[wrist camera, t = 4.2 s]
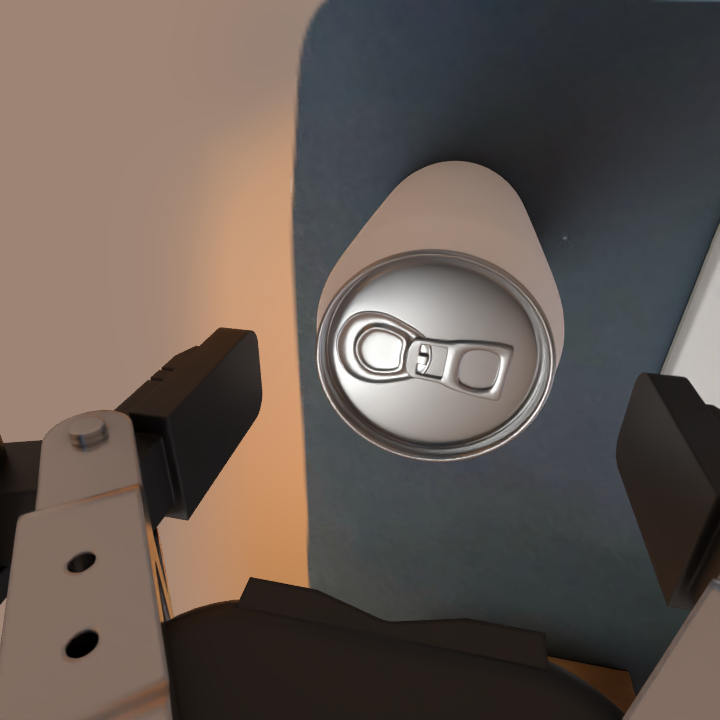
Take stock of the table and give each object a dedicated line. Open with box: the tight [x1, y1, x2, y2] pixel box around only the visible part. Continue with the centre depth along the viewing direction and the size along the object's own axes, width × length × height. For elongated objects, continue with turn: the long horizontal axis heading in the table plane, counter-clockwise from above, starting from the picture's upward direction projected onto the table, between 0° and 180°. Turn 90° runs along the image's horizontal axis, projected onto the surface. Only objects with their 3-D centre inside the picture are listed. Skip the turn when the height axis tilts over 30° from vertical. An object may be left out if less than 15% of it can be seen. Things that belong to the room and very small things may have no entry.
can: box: [315, 161, 564, 462], centre depth 17 cm, size 6×6×12 cm
